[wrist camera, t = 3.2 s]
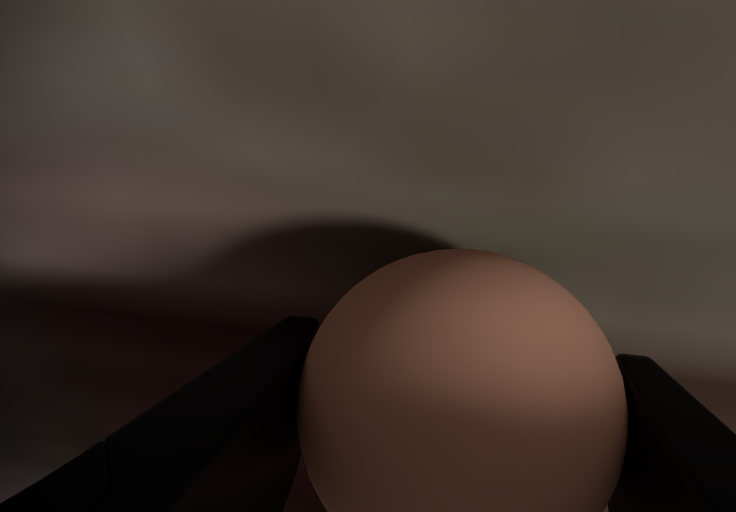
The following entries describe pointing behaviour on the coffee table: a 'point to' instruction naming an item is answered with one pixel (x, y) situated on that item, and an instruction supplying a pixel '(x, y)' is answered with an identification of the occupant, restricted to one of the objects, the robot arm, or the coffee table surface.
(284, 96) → the coffee table surface
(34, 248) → the coffee table surface
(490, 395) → the terracotta ball
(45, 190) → the coffee table surface
